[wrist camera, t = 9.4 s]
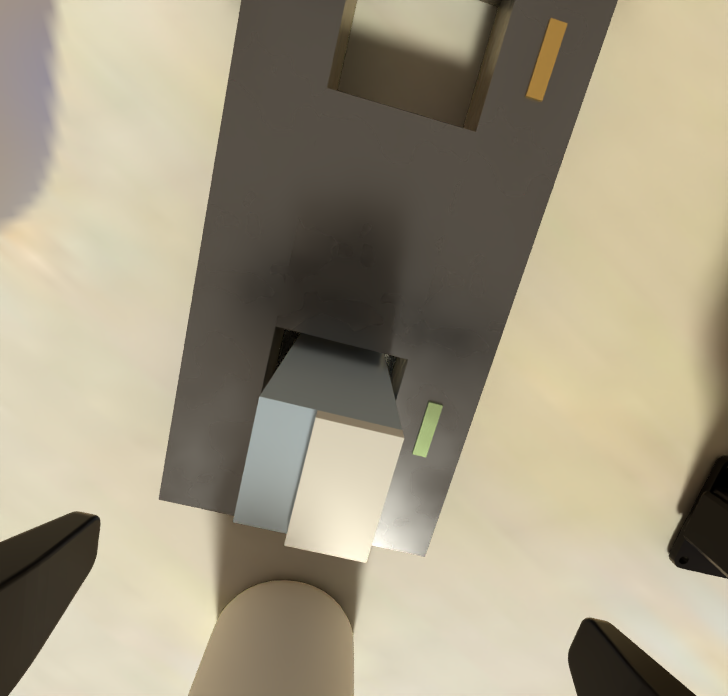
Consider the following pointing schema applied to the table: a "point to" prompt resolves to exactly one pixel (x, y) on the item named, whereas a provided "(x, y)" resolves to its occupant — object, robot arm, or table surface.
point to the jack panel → (370, 236)
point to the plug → (322, 449)
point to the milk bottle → (278, 645)
